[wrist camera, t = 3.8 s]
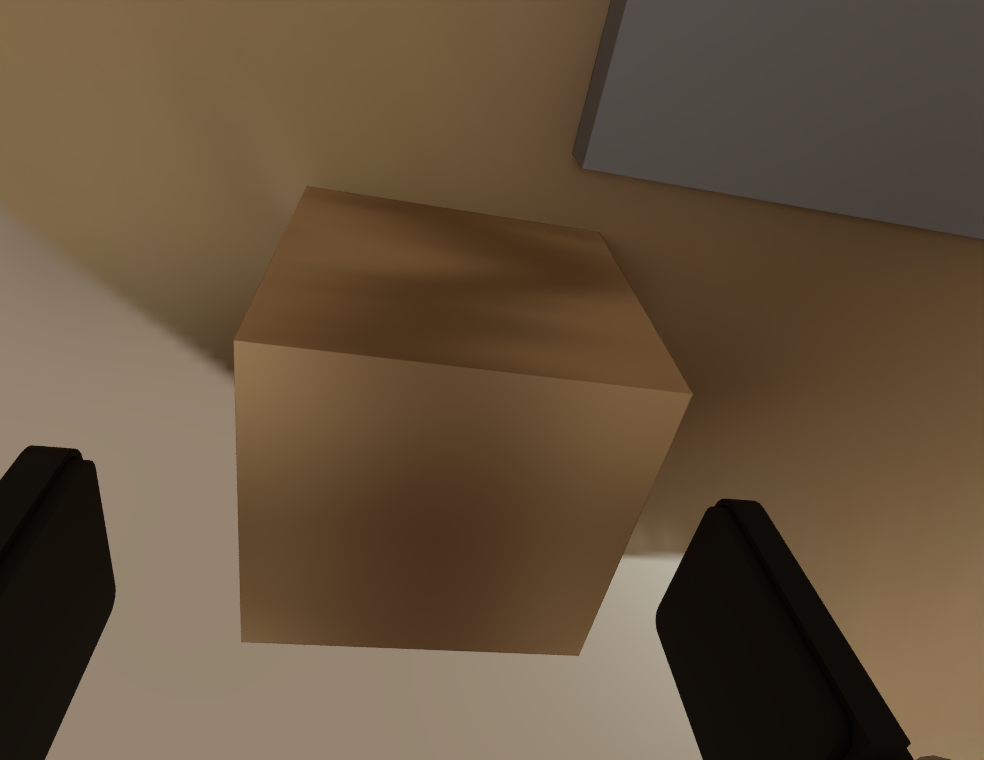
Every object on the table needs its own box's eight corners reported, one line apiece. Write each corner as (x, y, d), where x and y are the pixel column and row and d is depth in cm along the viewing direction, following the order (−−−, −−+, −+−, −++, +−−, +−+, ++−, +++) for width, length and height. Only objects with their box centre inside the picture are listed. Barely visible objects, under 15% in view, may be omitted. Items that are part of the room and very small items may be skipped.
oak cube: (598, 231, 14) (692, 393, 9) (534, 447, 17) (578, 655, 12) (307, 184, 13) (233, 340, 8) (297, 424, 16) (241, 641, 11)
